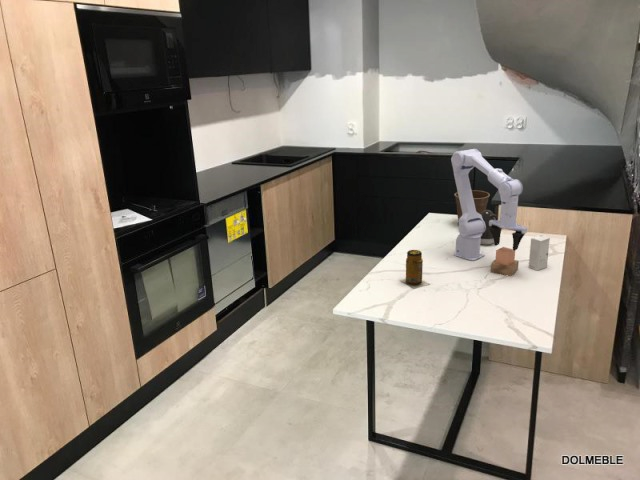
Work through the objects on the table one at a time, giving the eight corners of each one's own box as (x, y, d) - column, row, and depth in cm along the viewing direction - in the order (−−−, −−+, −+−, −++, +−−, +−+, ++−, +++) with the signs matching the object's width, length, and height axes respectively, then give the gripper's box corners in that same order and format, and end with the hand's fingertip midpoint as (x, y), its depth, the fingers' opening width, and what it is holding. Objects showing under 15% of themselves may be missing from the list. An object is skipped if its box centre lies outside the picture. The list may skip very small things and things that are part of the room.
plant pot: (454, 231, 241) (456, 198, 236) (451, 221, 256) (453, 190, 251) (490, 231, 239) (492, 198, 233) (485, 221, 254) (487, 189, 248)
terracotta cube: (495, 262, 193) (496, 250, 192) (502, 258, 196) (503, 246, 195) (507, 265, 190) (508, 253, 188) (514, 262, 193) (515, 249, 191)
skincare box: (538, 270, 193) (541, 241, 189) (527, 267, 196) (530, 238, 192) (547, 267, 196) (550, 237, 192) (537, 263, 199) (540, 234, 195)
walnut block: (490, 273, 194) (491, 263, 192) (497, 266, 200) (497, 257, 198) (511, 277, 189) (512, 267, 188) (517, 270, 195) (518, 260, 194)
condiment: (416, 276, 193) (416, 247, 189) (430, 284, 186) (430, 254, 182) (400, 280, 190) (400, 251, 186) (413, 288, 183) (414, 258, 179)
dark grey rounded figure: (485, 248, 218) (487, 214, 213) (468, 242, 226) (469, 209, 221) (502, 244, 222) (505, 210, 217) (485, 237, 231) (487, 205, 226)
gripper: (485, 211, 190) (483, 245, 194) (521, 219, 179) (517, 254, 183) (495, 207, 194) (493, 240, 198) (531, 214, 183) (528, 249, 187)
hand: (505, 247), depth 191 cm, fingers open, 7 cm apart
